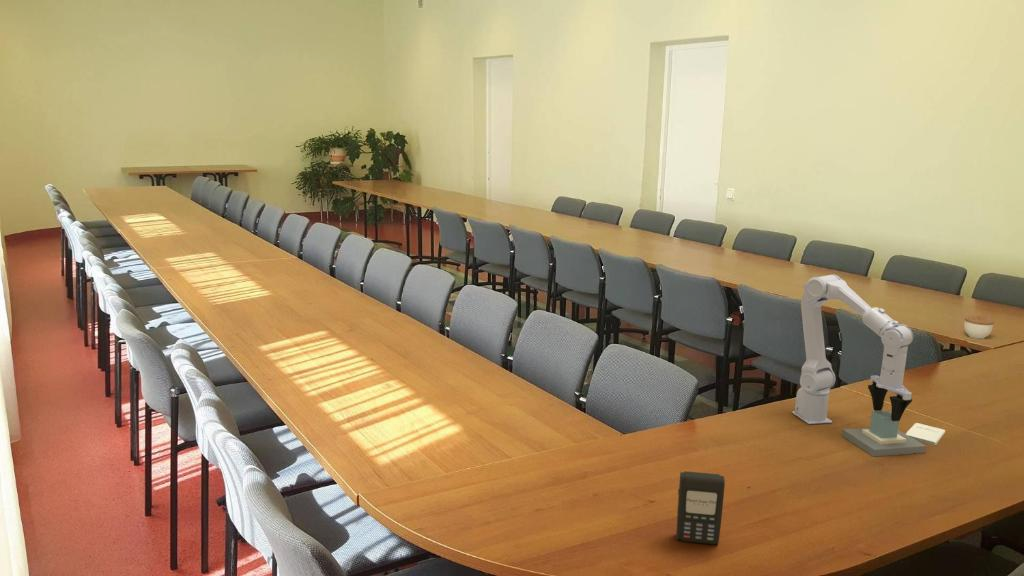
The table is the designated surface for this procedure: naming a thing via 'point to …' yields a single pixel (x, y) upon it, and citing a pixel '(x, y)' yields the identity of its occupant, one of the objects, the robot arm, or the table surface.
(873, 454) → the base board
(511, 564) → the table surface
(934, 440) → the external hard drive
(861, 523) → the table surface
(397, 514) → the table surface
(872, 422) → the block
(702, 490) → the card reader
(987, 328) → the lidded jar
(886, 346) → the robot arm
